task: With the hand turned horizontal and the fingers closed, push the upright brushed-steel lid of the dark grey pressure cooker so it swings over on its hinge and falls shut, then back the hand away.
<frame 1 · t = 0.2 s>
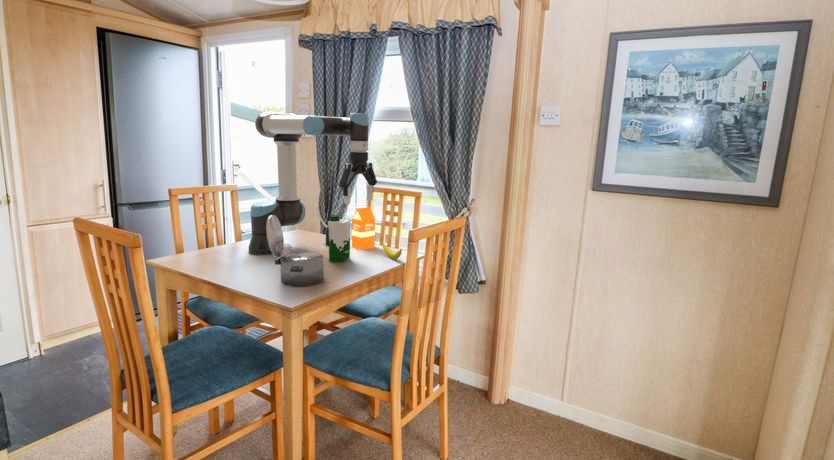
hand: (358, 201, 193), 28 cm above the table, tool pointing down, fingers open, 13 cm apart
lid: (274, 236, 172), point 17 cm above the table, hinge at 100.0°
smoothie: (284, 267, 191), on the table
cooker: (302, 280, 176), on the table
supplement bottle: (332, 245, 232), on the table
milk carton: (339, 260, 206), on the table
orange juice: (363, 247, 230), on the table
banana: (391, 258, 211), on the table
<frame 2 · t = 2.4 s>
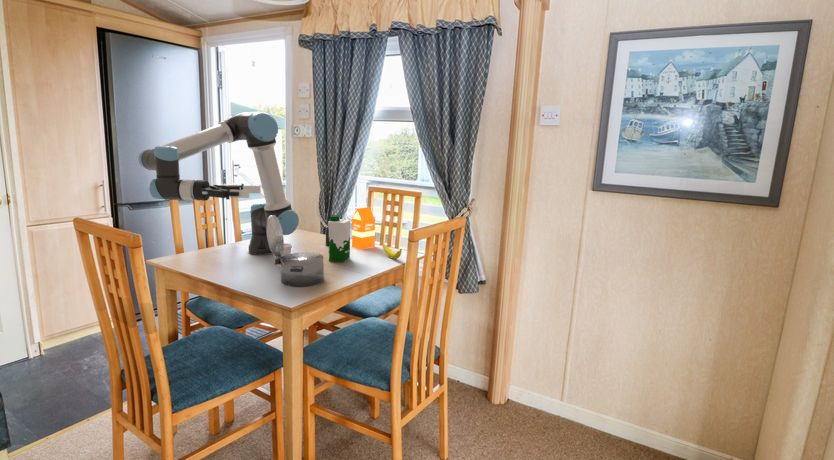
hand: (254, 191, 168), 34 cm above the table, tool horizontal, fingers open, 12 cm apart
nothing on the table moved.
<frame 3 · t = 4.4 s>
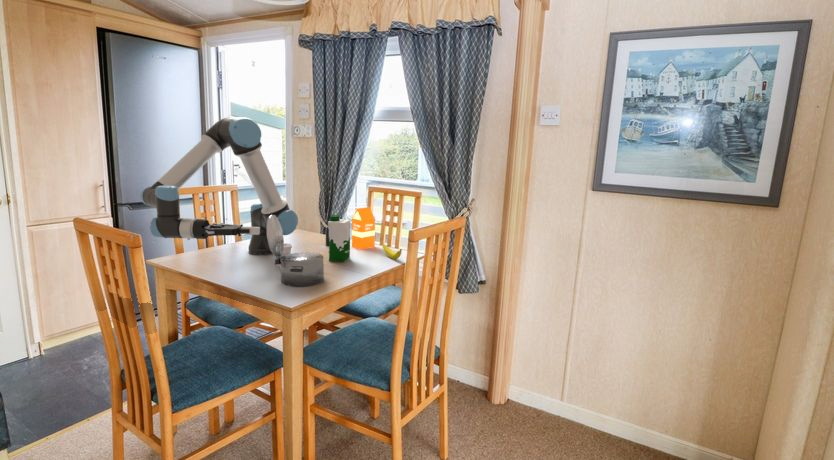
hand: (259, 230, 171), 19 cm above the table, tool horizontal, fingers closed
nothing on the table moved.
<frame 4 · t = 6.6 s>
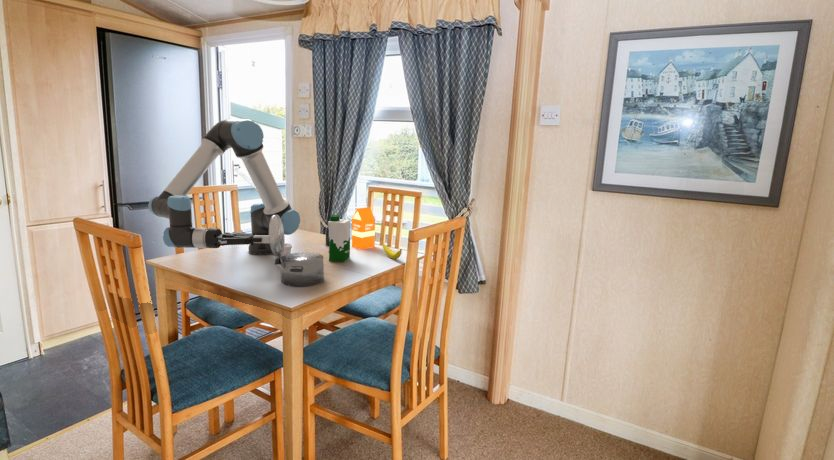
hand: (271, 239, 171), 16 cm above the table, tool horizontal, fingers closed
lid: (275, 235, 172), point 17 cm above the table, hinge at 95.6°, touching gripper
everything else where it was.
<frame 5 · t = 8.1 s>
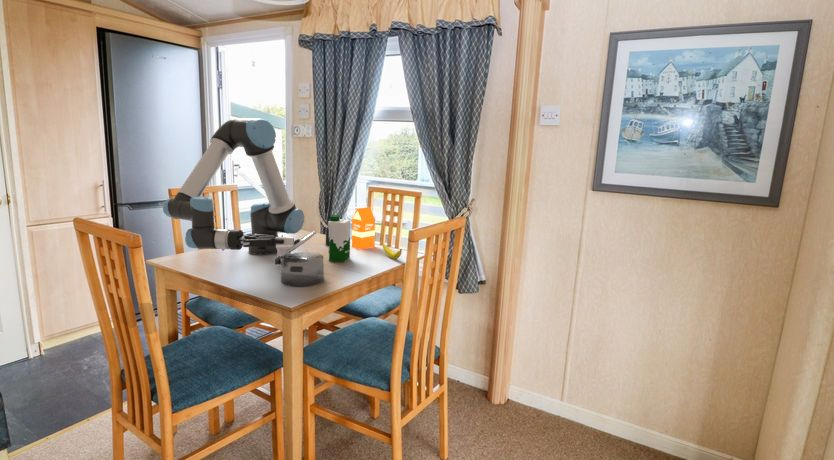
hand: (293, 241, 170), 16 cm above the table, tool horizontal, fingers closed
lid: (296, 242, 172), point 15 cm above the table, hinge at 34.8°, touching gripper
everything else where it was.
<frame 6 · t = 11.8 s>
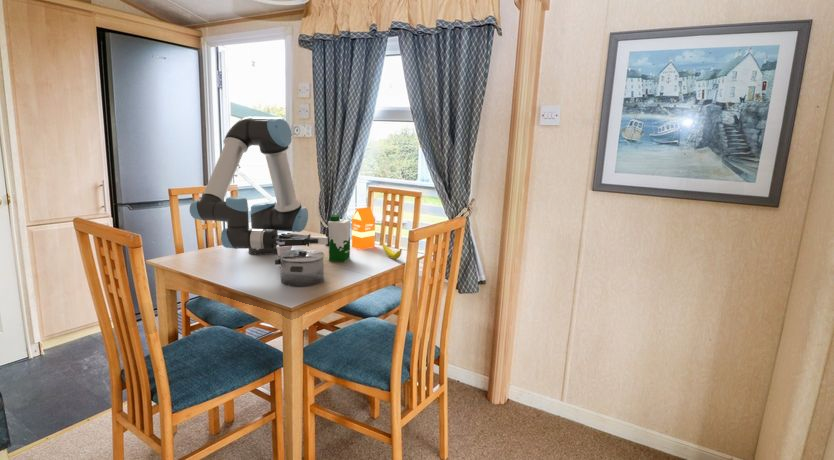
hand: (327, 240, 172), 16 cm above the table, tool horizontal, fingers closed
lid: (302, 254, 173), point 10 cm above the table, hinge at -0.1°
everything else where it was.
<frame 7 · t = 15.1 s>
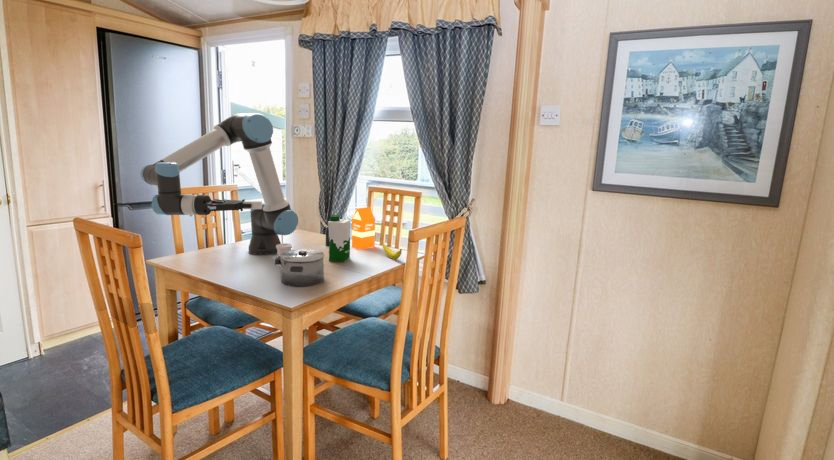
hand: (261, 205, 169), 29 cm above the table, tool horizontal, fingers closed
nothing on the table moved.
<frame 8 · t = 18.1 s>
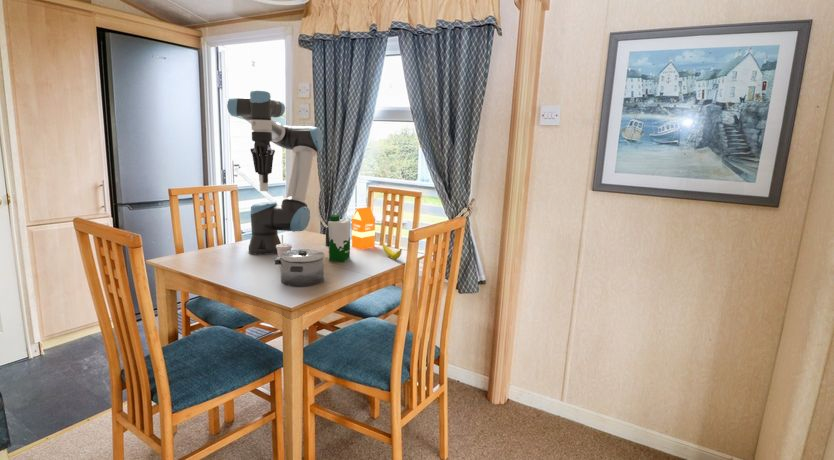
hand: (264, 190, 184), 32 cm above the table, tool pointing down, fingers closed
nothing on the table moved.
at the end: lid at +0° (first picture: +100°); lid touching nothing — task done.
